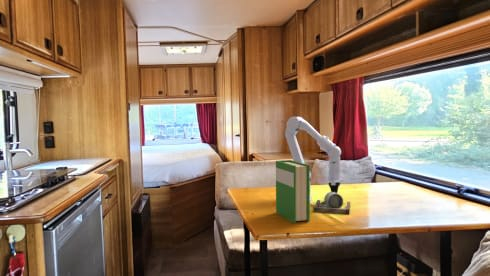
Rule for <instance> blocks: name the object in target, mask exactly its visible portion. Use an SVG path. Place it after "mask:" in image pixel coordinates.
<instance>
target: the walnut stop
mask: <svg viewBox="0 0 490 276" xmlns="http://www.w3.org/2000/svg"><path fill="white" fill-rule="evenodd" d="M320 203H321V200H320V199H317V200H316V203H315V204H314V206H313V213H323V214H324V213H326V214H338V213H339V214H341V215H350V211H351V201H346V206H345V207H346V208H329V207H319V204H320ZM339 214H338V215H339Z"/></svg>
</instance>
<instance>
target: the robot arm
mask: <svg viewBox="0 0 490 276" xmlns="http://www.w3.org/2000/svg"><path fill="white" fill-rule="evenodd" d="M299 130H303V131H305V132H307V133H308V134H309V135H310V136H311V137H312V138H314V140H315V141H316V145H318V146H319V147H320V149H322V150H323V151H324V152H325V153H326V154H327V156H328V179H327V180H328V181H329V182H328V187H329V188H330V192H335V193H337V194H338V191H339V188H340V186H341V182H343V178H341V155H342V150H341V148H340V147H339V146H337V145H336V143H333V142H332V140H330V137H329V136H326V135H321V134H320V133H319V132H318V130H316V129H315V128H314V126H312V125H311V124H310V123H309V122H308V121H307V120H305V119H304V118H303V117H302V116H291V117H290V118H288V120H287V122H286V128H285V132H284V136H285V139H286V142H287V143H286V144H287V145H288V148H289V151H290V154H291V158H292V161H296V162H300V163H304V164H306V163H305V160H304V156H303V154H302V150H301V148H300V145H299V142H298V140H297V136H296V135H297V134H298V133H299ZM311 178H312V173H311V171H310V179H311ZM312 199H313V197H311V196H310V202H311V201H312Z"/></svg>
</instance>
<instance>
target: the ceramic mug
mask: <svg viewBox="0 0 490 276" xmlns="http://www.w3.org/2000/svg"><path fill="white" fill-rule="evenodd" d="M343 206H344V198H343V196H342V195H341V194H339V193H338V192H337V193H335V192H331V191H329V192H327V193H326V194H325V195H324V200H323V201H320V204H319V207H325V208H340V209H342V207H343Z"/></svg>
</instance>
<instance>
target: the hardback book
mask: <svg viewBox="0 0 490 276" xmlns="http://www.w3.org/2000/svg"><path fill="white" fill-rule="evenodd" d="M304 163H305V162H304ZM304 163H300V162H296V161H293V159H286V160H285V159H284V160H276V161H275V213H276V214H277V215H279V216H280V217H282V218H283V219H286V220H287V221H289V222H290V223H292V224H296V223H297V222H299V221H305V222H307V223H310V221H311V220H310V211H311V210H310V205H311V204H310V202H311V201H310V197H311V181H310V180H311V178H310V172H311V171H310V169H311V168H310V167H311V165H310V164H307V163H305V164H304Z"/></svg>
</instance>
